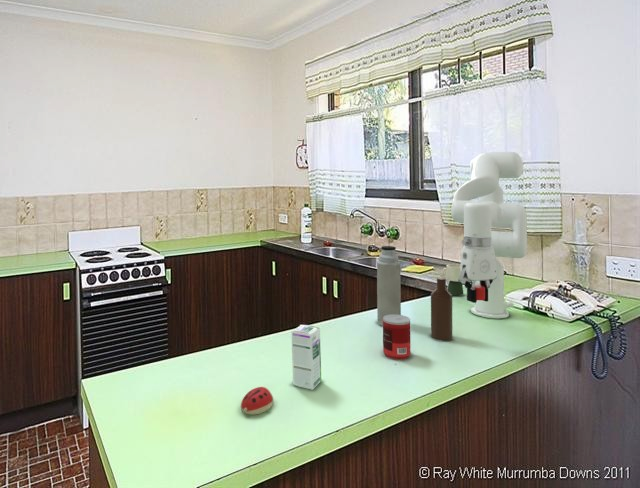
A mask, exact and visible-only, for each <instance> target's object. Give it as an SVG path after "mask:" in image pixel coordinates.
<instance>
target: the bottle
mask: <svg viewBox="0 0 640 488" xmlns="http://www.w3.org/2000/svg"><path fill="white" fill-rule="evenodd" d="M430 336H431V338H432V339H434V340H436V341H442V342H449V341H451V340H453V295H451V294H450V292H449V291H448V288H447V278H445V277H436V288H435V289H434V290H432V292H431V293H430Z"/></svg>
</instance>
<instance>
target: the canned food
mask: <svg viewBox="0 0 640 488" xmlns="http://www.w3.org/2000/svg"><path fill="white" fill-rule="evenodd" d="M382 351H383V355H384V356H385V357H387V358H389V359H392V360H406V359H408V358H409V357H410V356H411V319H410V318H409V317H408V316H406V315H403V314H401V315H395V314H392V315H386V316H384V317H383V326H382Z"/></svg>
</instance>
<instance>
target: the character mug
mask: <svg viewBox="0 0 640 488" xmlns="http://www.w3.org/2000/svg"><path fill="white" fill-rule="evenodd" d="M442 274H443V276H446V280H448V286H447V290H448V291H449V292H450V294H451V295H452V296H461V295H464V287H463V286H464V285H463V283H461V282H460V281H458V278H459V276H460V274H461V273H460V264H459V263H458V264H457V263H448V264H446V267H443V269H442ZM465 279H466V278H465Z"/></svg>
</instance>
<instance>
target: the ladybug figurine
mask: <svg viewBox="0 0 640 488" xmlns="http://www.w3.org/2000/svg"><path fill="white" fill-rule="evenodd" d="M273 404H274V396H273V394H272V391H270V389H269V388H267V387H265V386H257V387H255V388H252V389H251V390H249V391H248V392H247V393H246V394H245V395H244V396H243V397H242V400H241V403H240V410H241V411H242V413H244V414H246V415H251V416H253V415H259V414H262V413H264V412H266V411H268V410H269V409H270V408H271V407H272V406H273Z"/></svg>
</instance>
